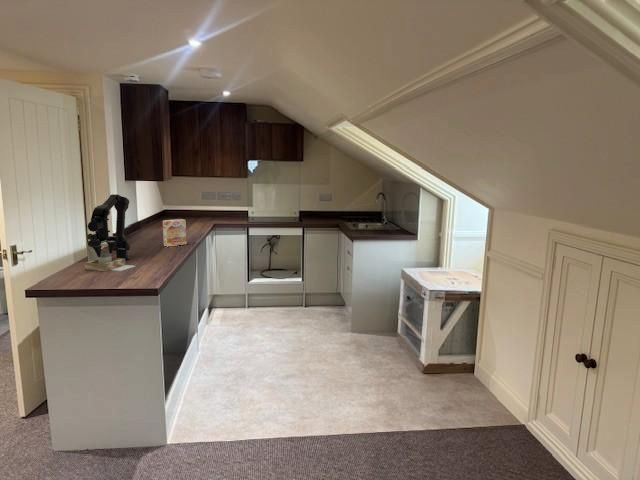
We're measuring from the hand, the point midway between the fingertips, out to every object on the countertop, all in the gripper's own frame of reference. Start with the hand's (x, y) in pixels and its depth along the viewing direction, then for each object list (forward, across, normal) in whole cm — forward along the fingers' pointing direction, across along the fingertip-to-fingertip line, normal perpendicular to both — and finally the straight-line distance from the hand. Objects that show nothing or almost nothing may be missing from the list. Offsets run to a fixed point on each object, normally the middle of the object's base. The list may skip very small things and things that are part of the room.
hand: (104, 255), depth 251 cm
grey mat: (+7, 0, +12) cm, 14 cm away
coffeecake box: (+8, -70, 0) cm, 70 cm away
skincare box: (+7, -10, -17) cm, 21 cm away
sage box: (+7, 0, 0) cm, 7 cm away
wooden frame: (+7, 0, 0) cm, 7 cm away
